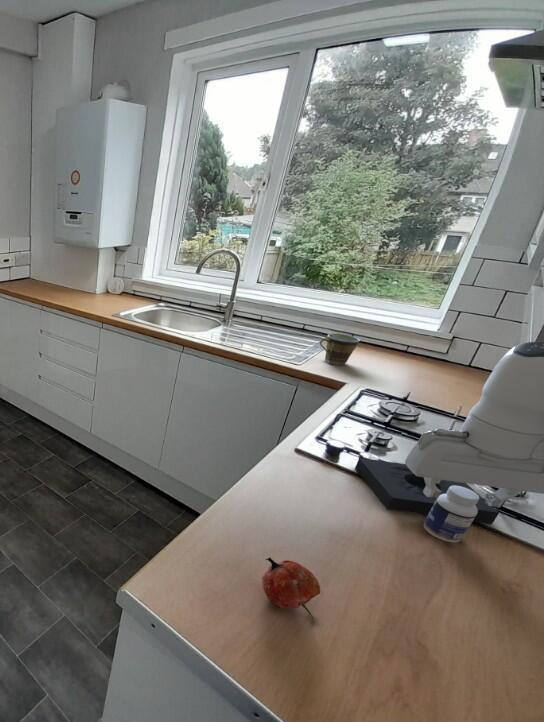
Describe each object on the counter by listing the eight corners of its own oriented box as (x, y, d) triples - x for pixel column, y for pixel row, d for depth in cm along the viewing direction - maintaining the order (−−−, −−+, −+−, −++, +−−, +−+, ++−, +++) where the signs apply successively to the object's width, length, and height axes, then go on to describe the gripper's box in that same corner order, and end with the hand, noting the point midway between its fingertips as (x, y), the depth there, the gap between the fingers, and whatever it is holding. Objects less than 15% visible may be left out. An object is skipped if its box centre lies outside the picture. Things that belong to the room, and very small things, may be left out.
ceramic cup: (339, 357, 162) (348, 333, 157) (357, 367, 153) (366, 342, 148) (306, 357, 162) (314, 333, 158) (321, 366, 153) (330, 341, 149)
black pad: (444, 480, 92) (450, 469, 91) (492, 524, 80) (499, 512, 79) (354, 468, 96) (359, 458, 95) (386, 509, 84) (392, 497, 82)
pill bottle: (419, 518, 81) (440, 479, 77) (455, 529, 79) (479, 488, 75) (426, 536, 77) (448, 495, 73) (464, 547, 75) (490, 506, 70)
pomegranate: (308, 606, 66) (268, 547, 69) (348, 606, 60) (303, 541, 63) (280, 632, 63) (240, 569, 66) (320, 634, 57) (273, 565, 60)
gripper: (438, 436, 68) (404, 501, 74) (591, 455, 64) (542, 522, 70) (415, 418, 73) (385, 480, 79) (554, 434, 69) (512, 498, 75)
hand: (459, 500), depth 74 cm, fingers open, 8 cm apart
